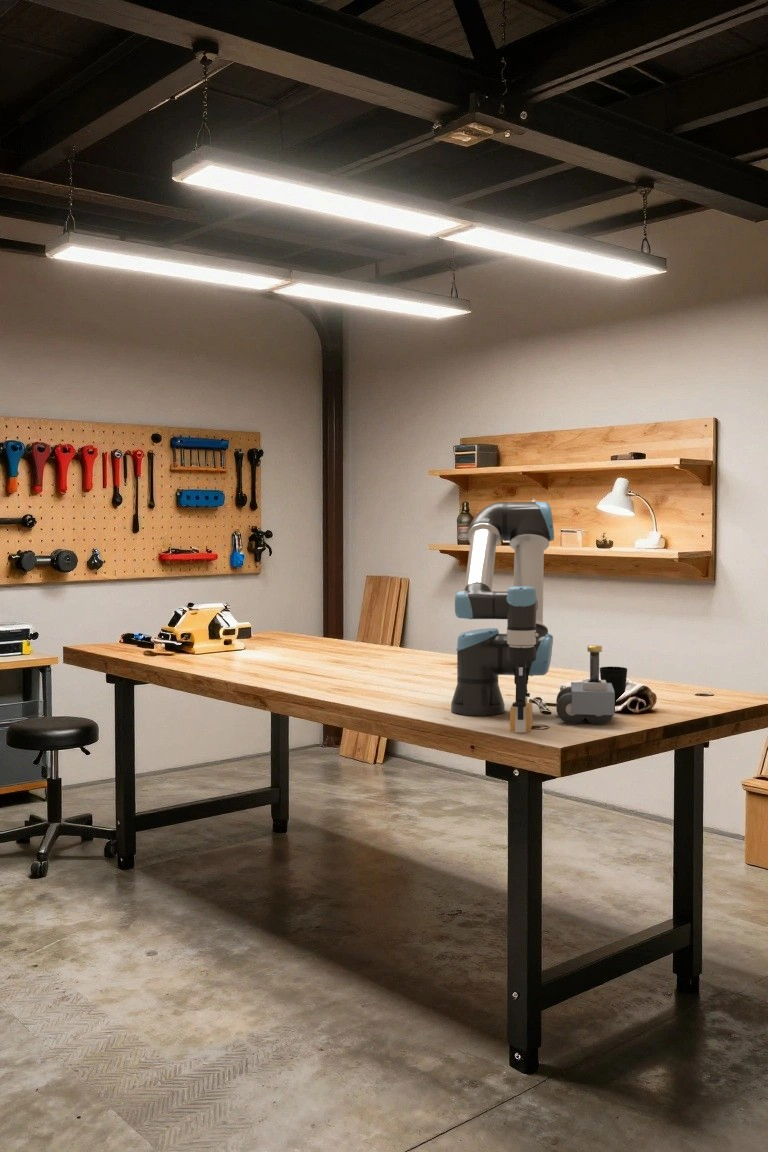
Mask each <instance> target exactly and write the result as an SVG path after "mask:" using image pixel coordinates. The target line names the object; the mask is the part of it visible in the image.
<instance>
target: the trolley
mask: <svg viewBox="0 0 768 1152" xmlns="http://www.w3.org/2000/svg"><path fill="white" fill-rule="evenodd" d="M555 707H556V714H557V716H558V718H559V719H560V721H561V722H563V723H565V724H568V725H576V724H579V723H581V722H582V721H583V720H585V719H586V720H587V721H588V722H589V723H591V724H592V725H595V726H602V725H606V724H607V723H609V722H610V721H611V720H612V719H613V717H614V716H615V713H616V712H615V692H614V689H613V686H612V683H606V680H601V679H599V683H594V682H590V679H582V682H579V681H576V682H574V681H573V682H570V686H566V687H564V688H562V689H561V690H560V691H559V692H558V693H557V695H556V706H555Z"/></svg>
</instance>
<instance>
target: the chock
mask: <svg viewBox="0 0 768 1152" xmlns="http://www.w3.org/2000/svg"><path fill="white" fill-rule="evenodd" d="M515 702H516V701H513V702H512V704H511V706H510V707H509V731H510V732H515V707H513V703H515ZM533 706H534V705H533V702H527V703H526V732H525V733H530V731H531V729H532V727H533Z"/></svg>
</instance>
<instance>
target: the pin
mask: <svg viewBox="0 0 768 1152" xmlns="http://www.w3.org/2000/svg"><path fill="white" fill-rule="evenodd" d="M586 651H587V652H588V653H589V680H590V682H594V683H599V680H600V653H602V652H603V646H602V645H595V644H592V645H591V644H589V645H587V650H586Z"/></svg>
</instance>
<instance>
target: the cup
mask: <svg viewBox="0 0 768 1152" xmlns="http://www.w3.org/2000/svg"><path fill="white" fill-rule="evenodd" d="M627 676H628V668H627V667H623V666H602V667H601V666H600V667H599V679H600V680H606V683H612V686H613V689H614V692H615V702H616V700H617V699H618V698H619V697H620V696H621V695H622V694H623V693H624V692H625V693H626V688H627V687H626V686H627V679H628V678H627ZM615 704H616V703H615Z"/></svg>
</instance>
